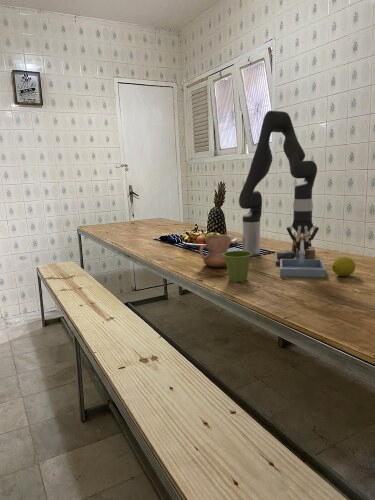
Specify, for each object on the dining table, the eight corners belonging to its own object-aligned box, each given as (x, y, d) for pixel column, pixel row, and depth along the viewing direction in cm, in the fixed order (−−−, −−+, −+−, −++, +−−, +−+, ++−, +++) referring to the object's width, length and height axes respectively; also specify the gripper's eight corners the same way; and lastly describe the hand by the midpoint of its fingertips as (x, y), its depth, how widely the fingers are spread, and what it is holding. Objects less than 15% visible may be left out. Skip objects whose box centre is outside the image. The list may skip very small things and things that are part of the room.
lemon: (347, 272, 162) (348, 254, 161) (360, 277, 155) (361, 257, 153) (325, 275, 159) (326, 256, 158) (337, 280, 152) (338, 260, 150)
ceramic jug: (228, 260, 191) (227, 232, 189) (241, 266, 178) (240, 236, 175) (195, 265, 186) (193, 236, 183) (205, 272, 173) (204, 241, 170)
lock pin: (298, 264, 164) (298, 236, 162) (297, 262, 167) (298, 235, 165) (305, 264, 163) (306, 236, 161) (305, 262, 166) (305, 235, 164)
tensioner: (275, 265, 179) (275, 250, 177) (275, 259, 190) (276, 245, 188) (316, 266, 174) (316, 251, 173) (313, 259, 186) (314, 245, 184)
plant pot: (229, 275, 165) (228, 249, 163) (255, 277, 160) (255, 251, 158) (219, 282, 155) (218, 255, 152) (247, 285, 150) (247, 257, 147)
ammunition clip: (309, 252, 202) (310, 230, 200) (311, 253, 201) (312, 230, 198) (291, 254, 200) (291, 231, 197) (293, 255, 198) (293, 232, 196)
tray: (280, 276, 160) (280, 268, 159) (280, 266, 177) (280, 258, 176) (325, 278, 155) (326, 269, 155) (321, 266, 172) (321, 259, 172)
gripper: (285, 210, 159) (285, 251, 162) (321, 210, 155) (319, 251, 159) (285, 208, 166) (285, 247, 169) (319, 208, 162) (318, 248, 166)
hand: (301, 249), depth 164 cm, fingers closed on lock pin, 2 cm apart
